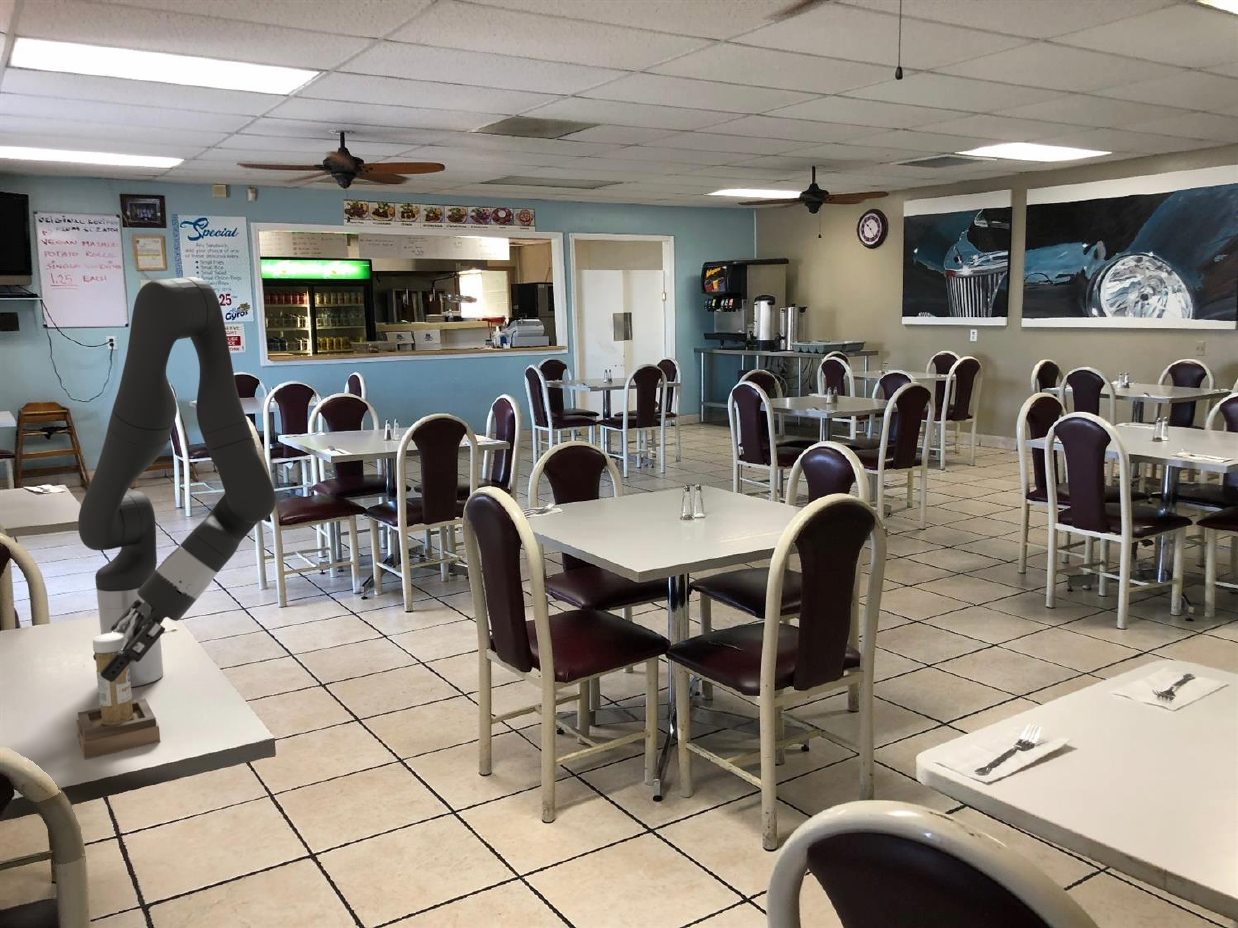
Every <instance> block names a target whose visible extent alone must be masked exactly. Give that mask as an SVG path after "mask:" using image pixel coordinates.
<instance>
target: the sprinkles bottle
mask: <svg viewBox="0 0 1238 928" xmlns="http://www.w3.org/2000/svg"><path fill="white" fill-rule="evenodd" d="M124 635H125V634H124V633H120V632H115V633H107V634H102V635H101V634H99V635H97V636H95V637H94V638H93V639H92V649H93V652H94V654H95V657H96V661H95V663H96V667H95V668H96V679H97V689H98V690H97V691H98V699H99V705H100V708H101V714H102V719H101V723H102V724H103V725H105V726H109V725H113V724H118V723H123V722H127V721H131V720H132V719H133V718H134V713H133V708H132V701H133V699H132V698H133V697H132V696H133V695H132V687H131V685H130V675H129V668H128V666H127V667H126V668H125V669H124V670H123V671H122V673H121V674H120V675H119V676H118V677H117V678H116V679H115V681H113V682H110V681H108V680H106V679H105V678H103V677H102V676H101V675H100V672H101V671H102V670H103V668H104V667H105V666H106V665H107V664H108V663H109V662H110V660H111V659H112V658H113V657H114V656H115V655H116V654H117V653H118V651H119V649H120V648H121V646H122V645H123V643H124V641H123V636H124ZM119 655H120V654H119Z"/></svg>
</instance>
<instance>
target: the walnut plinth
mask: <svg viewBox="0 0 1238 928" xmlns="http://www.w3.org/2000/svg"><path fill="white" fill-rule="evenodd" d="M132 708H133V713H134V718H133V719H132V720H131V721H127V722H123V723H118V724H113V725H109V726H105V725H103V724H102V723H101V719H102V714H101V707H98V708H94V709H93V708H92V709H88V710H85V711H84V710H83V711H79V712H77V719H75V723H76V724H75V725H76V733H77V738H79V739H78V743H79V744H80V748H81V751H82V754H83V757H84V760H87V759H92V758H97V757H101V756H104V755H109V754H114V753H117V752H122V751H127V750H131V749H135V748H139V747H144V746H148V745H152V744H156V742H157V743H161V736H160V734H161V733H160V725H159V723H158V722H157V719H156V716H155V714H154V712H153V710H152V709H151V707H150V704H149V703H148V700H147V699H146V698H141V699H137V700H132Z"/></svg>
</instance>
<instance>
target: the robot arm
mask: <svg viewBox="0 0 1238 928" xmlns="http://www.w3.org/2000/svg"><path fill="white" fill-rule="evenodd" d="M130 321H131V324H130V328H129V329H130V330H129V339H128V343H127V351H126V357H125V361H124V366H123V368H122V369H123V370H122V374H121V377H120V378H121V379H120V384H119V386H118V387H119V388H118V391H117V393H116V397H115V400H114V403H113V405H112V410H111V414H110V417H109V422H108V427H107V431H106V434H105V438H104V443H103V446H102V449H101V453H100V456H99V459H98V462H97V465H96V468H95V471H94V473H93V476H92V477H91V481H90V483H89V485H88V487H87V489H86V492H85V494H84V497H83V500H82V502H81V505H80V509H79V513H78V518H77V527H78V528H77V529H78V533H79V537H80V540H81V542H82V543H83V545H84V546H85V547H86V548H88V549H90V550H93V551H106V550H107V551H108V550H114V549H118V548H120V551H119V552H118V553H117V555H116V556H115V557H114V558H113V559H111V561H110V562H108V563H107V564H105V565H103V566H102V567H100V568H99V569H98V570H97V571H96V573H95V577H94V578H95V579H94V580H95V588H96V598H97V606H98V607H97V608H98V615H99V616H98V617H99V630H100V635H102V634H107V633H115V632H120V633H124V634H125V635H124V636H123V641H124V643H123V645H122V646H121V648H120V649H119V651H118V653H117V654H116V655H115V656H114V657H113V658H112V659H111V660H110V662H109V663H108V664H107V665H106V666H105V667H104V668H103V670H102V671H101V672H100V675H101V676H102V677H103V678H105V679H106V680H108V681H110V682H113V681H115V679H116V678H117V677H118V676H119V675H120V674H121V673H122V671H123V670H124V669H125V668H126V667H127V666H128V668H129V675H130V685H131V688H132V687H139V686H143V685H147V684H150V683H153V682H155V681H157V680H160V679H161V678H162V677H163V676H164V667H163V666H164V663H163V654H162V641H161V636H162V635H163V634H164V633H165V631H166V628H165V627H164V626H163V625H161V624H162V623H163V621H164V619H165V618H168V619H170V620H172V621H175V622H177V621H178V622H179V621H180V620H181V618H182V617H183V616H184V615H185V614H186V613H187V611H188V610H189V609H191V607H192V605H194V604H195V602H196V601H197V600H198V599H199V598H200V597H201V595H202V594H203V593H204V592H205V591H206V590H207V588H208V587H209V586H210V585H211V583H212V582H213V580H214V578H216V576H217V574H218V573H219V572H220V571H221V569H223V568H224V566H225V565H226V564H227V563H228V562H229V560H231V558H232V557H233V556H234V554H235V553H236V551H237V550H238V548H239V545H240V543H241V542H242V540H244V538H245V537H247V535H248V534H249V533H250V532H251V530H253V528H254V527H255V526H256V525H257V524H258V523H259V522H262V521H264V520H266V519H268V517H270V516H271V515H272V513H273V512H274V511H275V508H276V505H277V495H276V492H275V489H274V486H273V483H272V480H271V479H270V476H269V475H268V471H267V470H266V468H265V465H264V463H263V461H262V459H261V457H260V455H259V453H258V450H257V444H256V442H255V438H254V436H253V432H252V430H251V427H250V425H249V422H248V419H247V416H246V414H245V410H244V407H243V405H242V402H241V399H240V398H241V397H240V396H239V392H238V388H237V382H236V378H235V374H234V372H235V371H234V368H233V362H232V355H231V352H230V345H229V341H228V336H227V332H226V330H227V329H226V325H225V321H224V314H223V311H222V306H221V304H220V301H219V298H218V295H217V293H216V291H215V290H214V288H213V287H212V286H211V284H210V283H209V282H208V281H206V280H204V279H203V278H200V277H197V276H185V277H184V276H183V277H176V278H175V277H174V278H162V279H155V280H152V281H151V280H150V281H149V282H147V283H145V284H144V285H142V287H141V288H140V289H139V291H138V293H137V295H136V298H135V300H134V305H133V310H132V316H131V320H130ZM188 338H189V339H190V340H191V342H192V344H193V347H194V349H195V352H196V355H197V358H198V365H199V366H198V367H199V380H198V389H197V395H196V420H197V425H198V428H199V430H200V434H201V435H202V436H201V437H202V439H203V441H204V444H205V447H206V449H207V451H208V455H209V457H210V459H211V461H212V463H213V465H214V467H216V469H217V472H218V475H219V477H220V481H221V484H222V487H223V490H224V494H223V495H222V497H221V498H220V499H219V501H218V502H217V503H216V504H215V505H214V506H213V508H212V510H210V512H209V513H208V515H207V517H206V518H205V519H204V520H202V522H200V523H199V524H198V525H197V526H196V527H195V528H194V529H193V530H192V531H191V532H190V533H189V534H188V535H187V536H186V538H185V539H184V540H183V541H182V542H181V544H180V545H179V546H177V548H175V550H174V551H172V552H171V553H170V554H169V555H167V556H166V558H165V559H164V560H163V561H162V562H161V564H160V565H159V566H158V567H157V565H158V564H157V563H158V558H157V557H158V556H157V553H158V551H157V527H156V526H157V524H156V523H157V522H156V516H155V511H154V507H153V503H152V502H151V500H150V498H149V496H147V495H146V494H145V493H144V492H142V491H138V490H130V491H129V488H130V487H131V486H132V484H133V483H134V482H135V481H136V480H137V479H138V478H139V477H140V476H141V475H142V474H143V473H144V472H145V471H146V470H147V469H148V468H149V467H150V466H151V465H152V464H153V463H154V462H155V461H156V460H157V459H158V458H159V457H160V455H161V454H162V453H163V451H164V450H165V448H166V447H167V446H168V443H169V441H170V438H171V434H172V431H173V428H174V424H175V421H176V417H177V413H178V412H177V411H178V409H177V408H178V407H177V401H176V397H175V394H174V391H173V390H172V387H171V385H170V382H169V380H168V376H167V368H168V367H167V366H168V363H169V358H170V355H171V352H172V348H174V347H173V346H174V345H175V343H176V341H177V340H183V339H188ZM119 654H120V655H119ZM92 658H93V660H94V661H95V662H96V657H95V653H94V654H93V657H92Z"/></svg>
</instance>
